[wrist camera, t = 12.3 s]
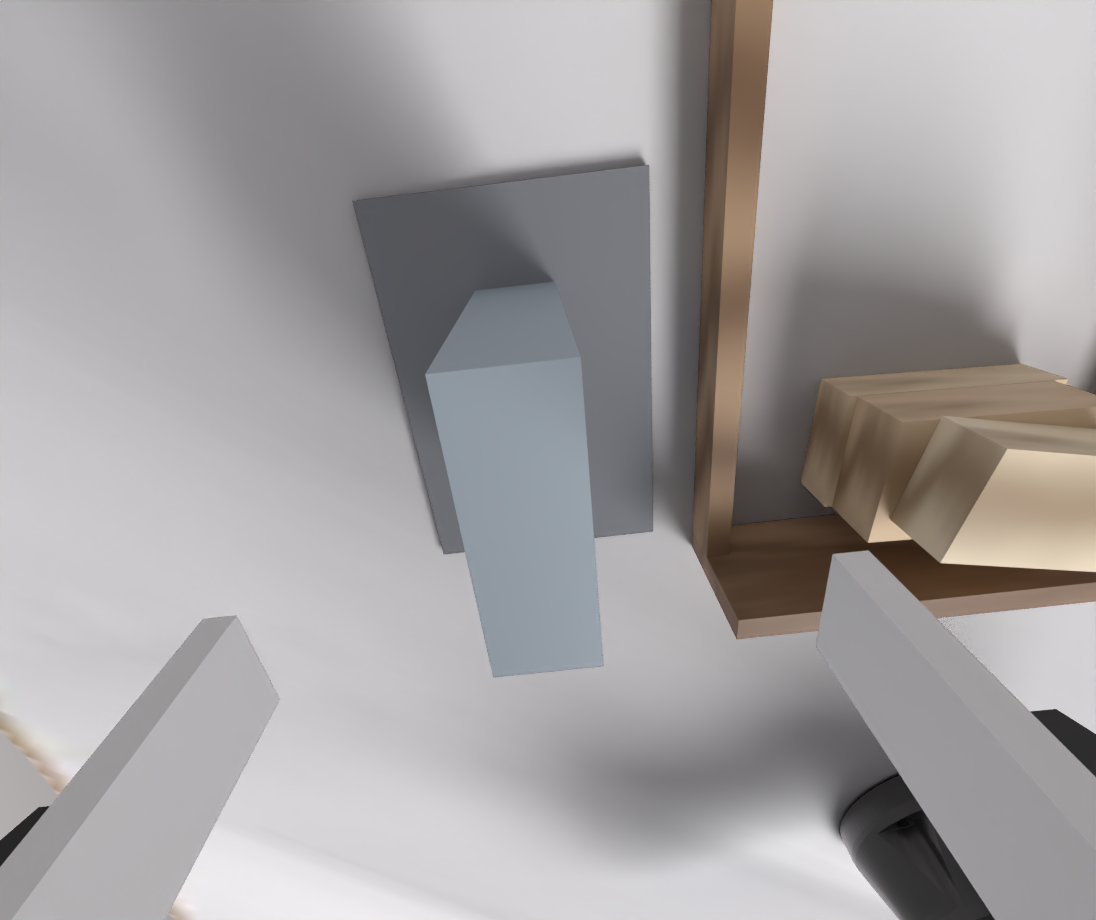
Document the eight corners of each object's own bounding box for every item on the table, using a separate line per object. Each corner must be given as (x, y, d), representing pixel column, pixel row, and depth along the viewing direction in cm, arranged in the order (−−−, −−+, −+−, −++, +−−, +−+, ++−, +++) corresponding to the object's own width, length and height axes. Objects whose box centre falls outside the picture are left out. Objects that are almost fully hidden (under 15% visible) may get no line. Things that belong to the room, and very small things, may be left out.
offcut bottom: (972, 464, 28) (1019, 491, 25) (796, 477, 28) (824, 506, 25) (1011, 360, 25) (1068, 379, 22) (815, 375, 25) (850, 395, 22)
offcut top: (1033, 528, 23) (1101, 572, 20) (889, 519, 22) (940, 563, 19) (1100, 429, 20) (1186, 463, 18) (942, 415, 20) (1007, 448, 17)
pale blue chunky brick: (572, 478, 26) (603, 666, 16) (507, 485, 26) (493, 677, 16) (554, 281, 22) (580, 357, 11) (475, 290, 22) (425, 374, 11)
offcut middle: (1006, 493, 25) (1063, 527, 23) (831, 506, 25) (867, 542, 23) (1054, 380, 22) (1125, 404, 20) (857, 396, 22) (902, 422, 20)
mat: (651, 527, 28) (652, 531, 28) (444, 549, 29) (443, 554, 28) (646, 165, 20) (649, 164, 20) (355, 200, 20) (352, 200, 20)
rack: (1072, 504, 29) (1222, 587, 23) (692, 546, 29) (736, 639, 23) (1370, -146, 17) (1870, -354, 10) (713, -61, 17) (820, -213, 11)
